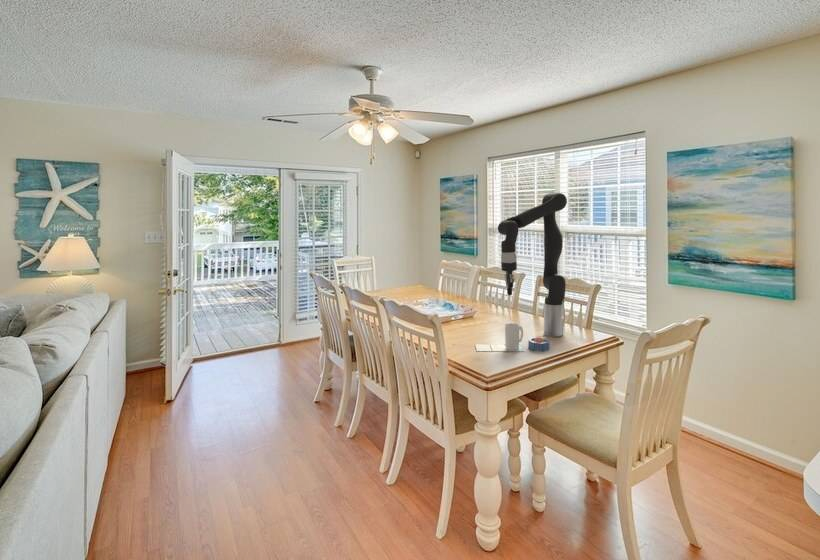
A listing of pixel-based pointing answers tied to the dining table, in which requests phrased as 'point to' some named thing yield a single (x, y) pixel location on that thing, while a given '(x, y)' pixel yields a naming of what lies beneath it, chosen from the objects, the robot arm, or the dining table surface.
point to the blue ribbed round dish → (538, 345)
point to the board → (494, 348)
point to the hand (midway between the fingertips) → (509, 294)
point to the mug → (512, 336)
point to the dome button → (539, 340)
